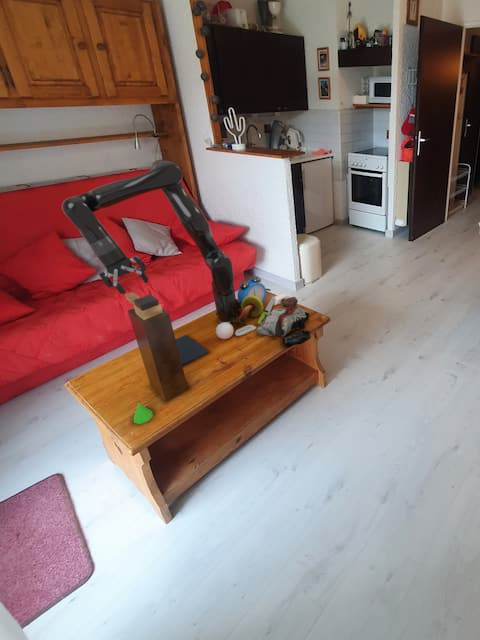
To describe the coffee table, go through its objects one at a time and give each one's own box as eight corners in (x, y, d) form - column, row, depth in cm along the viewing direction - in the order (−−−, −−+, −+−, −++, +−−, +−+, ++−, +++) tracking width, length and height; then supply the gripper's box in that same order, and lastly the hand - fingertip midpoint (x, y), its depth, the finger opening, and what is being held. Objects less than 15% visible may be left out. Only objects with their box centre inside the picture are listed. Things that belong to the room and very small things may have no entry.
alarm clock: (246, 313, 184) (242, 285, 177) (238, 309, 187) (234, 282, 180) (267, 302, 193) (264, 276, 186) (259, 299, 196) (256, 272, 190)
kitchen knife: (278, 298, 193) (272, 296, 193) (278, 296, 193) (273, 294, 192) (262, 326, 175) (256, 324, 175) (263, 324, 174) (256, 322, 174)
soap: (237, 338, 166) (237, 336, 166) (232, 332, 169) (232, 331, 168) (257, 329, 172) (257, 327, 172) (252, 324, 175) (252, 322, 174)
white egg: (217, 320, 160) (219, 319, 167) (212, 337, 159) (214, 336, 166) (241, 326, 162) (242, 325, 170) (236, 343, 162) (237, 341, 169)
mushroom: (226, 299, 168) (241, 293, 182) (227, 326, 170) (241, 318, 184) (253, 301, 166) (265, 294, 181) (253, 328, 168) (266, 320, 183)
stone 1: (291, 311, 184) (271, 309, 185) (291, 305, 182) (271, 303, 184) (275, 340, 165) (254, 337, 167) (274, 334, 164) (252, 331, 165)
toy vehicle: (273, 301, 189) (268, 299, 191) (273, 306, 190) (268, 303, 192) (292, 293, 197) (287, 290, 199) (292, 297, 198) (287, 295, 200)
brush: (139, 295, 133) (135, 282, 131) (163, 312, 123) (159, 299, 121) (120, 301, 129) (116, 288, 127) (143, 320, 119) (139, 306, 117)
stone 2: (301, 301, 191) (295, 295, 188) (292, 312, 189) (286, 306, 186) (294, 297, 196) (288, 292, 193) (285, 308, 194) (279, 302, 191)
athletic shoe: (283, 314, 154) (302, 337, 156) (301, 294, 178) (317, 314, 179) (261, 330, 157) (279, 352, 159) (282, 308, 181) (297, 327, 183)
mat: (186, 336, 166) (186, 334, 166) (208, 353, 156) (208, 351, 155) (159, 349, 158) (158, 347, 158) (180, 367, 148) (179, 365, 147)
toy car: (282, 344, 158) (285, 351, 160) (309, 335, 159) (312, 341, 161) (282, 336, 163) (285, 343, 165) (308, 327, 164) (311, 334, 166)
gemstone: (147, 407, 129) (142, 394, 126) (157, 415, 126) (152, 401, 123) (129, 418, 125) (124, 405, 122) (139, 426, 122) (134, 413, 119)
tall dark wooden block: (172, 375, 144) (152, 301, 130) (188, 389, 137) (169, 313, 123) (150, 386, 138) (127, 310, 124) (166, 402, 131) (143, 323, 117)
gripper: (129, 238, 138) (155, 275, 145) (90, 256, 136) (119, 293, 143) (124, 243, 132) (152, 282, 139) (84, 262, 129) (114, 300, 137)
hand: (135, 287), depth 141 cm, fingers open, 8 cm apart
